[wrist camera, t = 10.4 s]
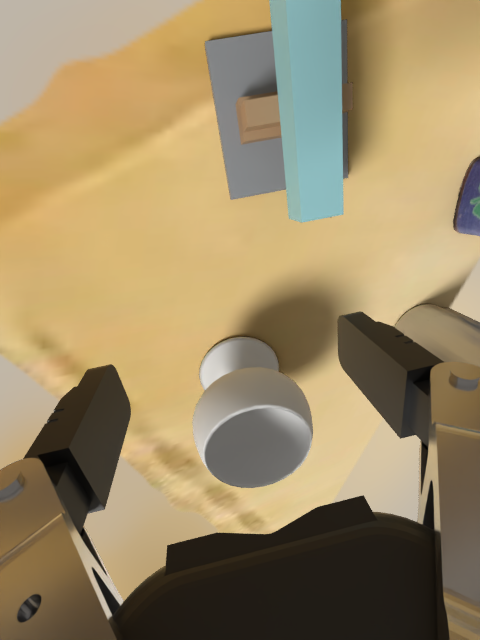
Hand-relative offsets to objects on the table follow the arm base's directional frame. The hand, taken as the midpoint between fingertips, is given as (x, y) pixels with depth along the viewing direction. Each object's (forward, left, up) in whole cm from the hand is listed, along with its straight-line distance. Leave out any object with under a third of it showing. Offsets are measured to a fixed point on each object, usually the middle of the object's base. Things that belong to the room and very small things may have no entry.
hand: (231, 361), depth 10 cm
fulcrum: (-11, -11, -28) cm, 32 cm away
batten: (-11, -10, -22) cm, 27 cm away
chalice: (-1, +20, -28) cm, 35 cm away
